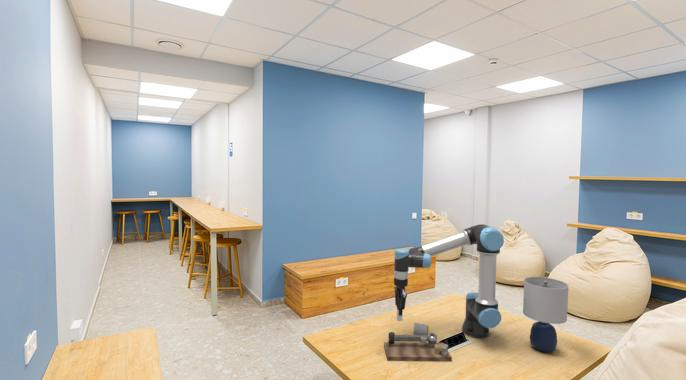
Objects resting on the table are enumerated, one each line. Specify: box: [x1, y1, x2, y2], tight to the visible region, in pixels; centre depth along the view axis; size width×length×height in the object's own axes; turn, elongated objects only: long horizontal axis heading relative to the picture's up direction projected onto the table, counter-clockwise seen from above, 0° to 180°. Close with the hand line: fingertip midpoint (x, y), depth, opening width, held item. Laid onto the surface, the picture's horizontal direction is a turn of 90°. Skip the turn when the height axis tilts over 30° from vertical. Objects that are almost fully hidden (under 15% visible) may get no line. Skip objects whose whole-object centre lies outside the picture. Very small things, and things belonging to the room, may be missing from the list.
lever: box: [387, 331, 438, 344], centre depth 187 cm, size 26×5×5 cm, turn 90°
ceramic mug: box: [413, 322, 429, 335], centre depth 203 cm, size 11×8×8 cm
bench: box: [383, 341, 453, 362], centre depth 183 cm, size 32×15×6 cm, turn 90°
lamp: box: [522, 276, 569, 353], centre depth 188 cm, size 20×20×37 cm
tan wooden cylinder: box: [435, 344, 442, 354], centre depth 180 cm, size 4×4×4 cm
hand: (399, 320), depth 193 cm, fingers closed
